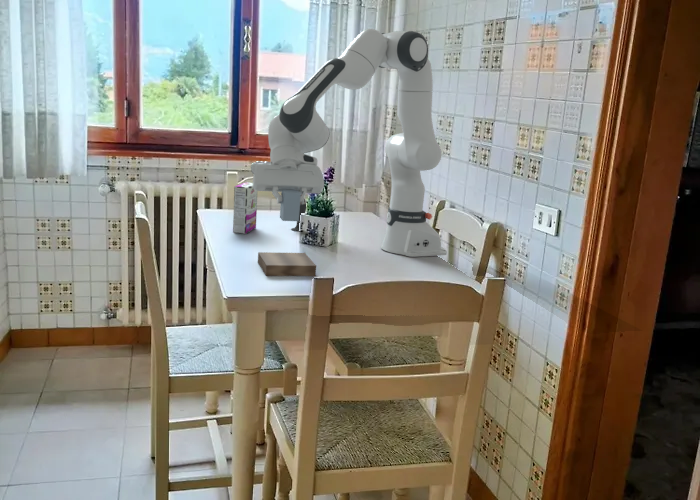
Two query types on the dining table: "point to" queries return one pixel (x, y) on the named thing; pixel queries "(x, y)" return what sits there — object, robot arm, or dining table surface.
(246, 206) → the candy bar box
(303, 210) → the sundae
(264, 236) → the dining table surface
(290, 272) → the block
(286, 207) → the slate block
